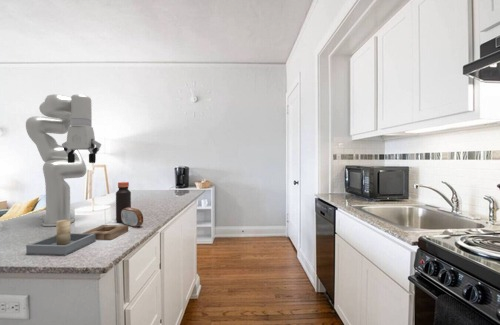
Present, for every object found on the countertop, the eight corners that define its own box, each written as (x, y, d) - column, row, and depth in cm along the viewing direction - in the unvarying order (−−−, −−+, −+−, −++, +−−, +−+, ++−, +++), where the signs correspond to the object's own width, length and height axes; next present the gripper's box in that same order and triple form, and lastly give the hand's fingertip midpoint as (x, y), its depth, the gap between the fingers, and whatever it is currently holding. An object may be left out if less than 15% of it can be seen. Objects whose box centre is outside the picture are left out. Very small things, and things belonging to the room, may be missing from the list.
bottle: (125, 223, 121) (124, 183, 121) (112, 222, 122) (112, 183, 122) (133, 220, 128) (133, 182, 127) (122, 219, 129) (122, 181, 129)
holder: (82, 239, 97) (82, 232, 97) (102, 230, 109) (102, 224, 109) (111, 239, 96) (111, 233, 96) (128, 231, 108) (128, 225, 108)
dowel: (53, 247, 86) (53, 222, 86) (62, 243, 90) (62, 219, 90) (64, 247, 86) (64, 222, 86) (73, 244, 90) (73, 219, 90)
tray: (26, 254, 81) (26, 245, 81) (61, 240, 95) (61, 232, 95) (65, 255, 80) (65, 246, 80) (95, 241, 94) (95, 233, 94)
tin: (143, 227, 114) (143, 209, 114) (137, 228, 112) (137, 210, 112) (125, 222, 123) (125, 206, 122) (119, 224, 120) (119, 207, 120)
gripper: (55, 122, 104) (55, 162, 104) (94, 122, 103) (94, 163, 103) (69, 125, 111) (70, 162, 111) (105, 124, 110) (106, 162, 110)
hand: (81, 162), depth 107 cm, fingers open, 9 cm apart
